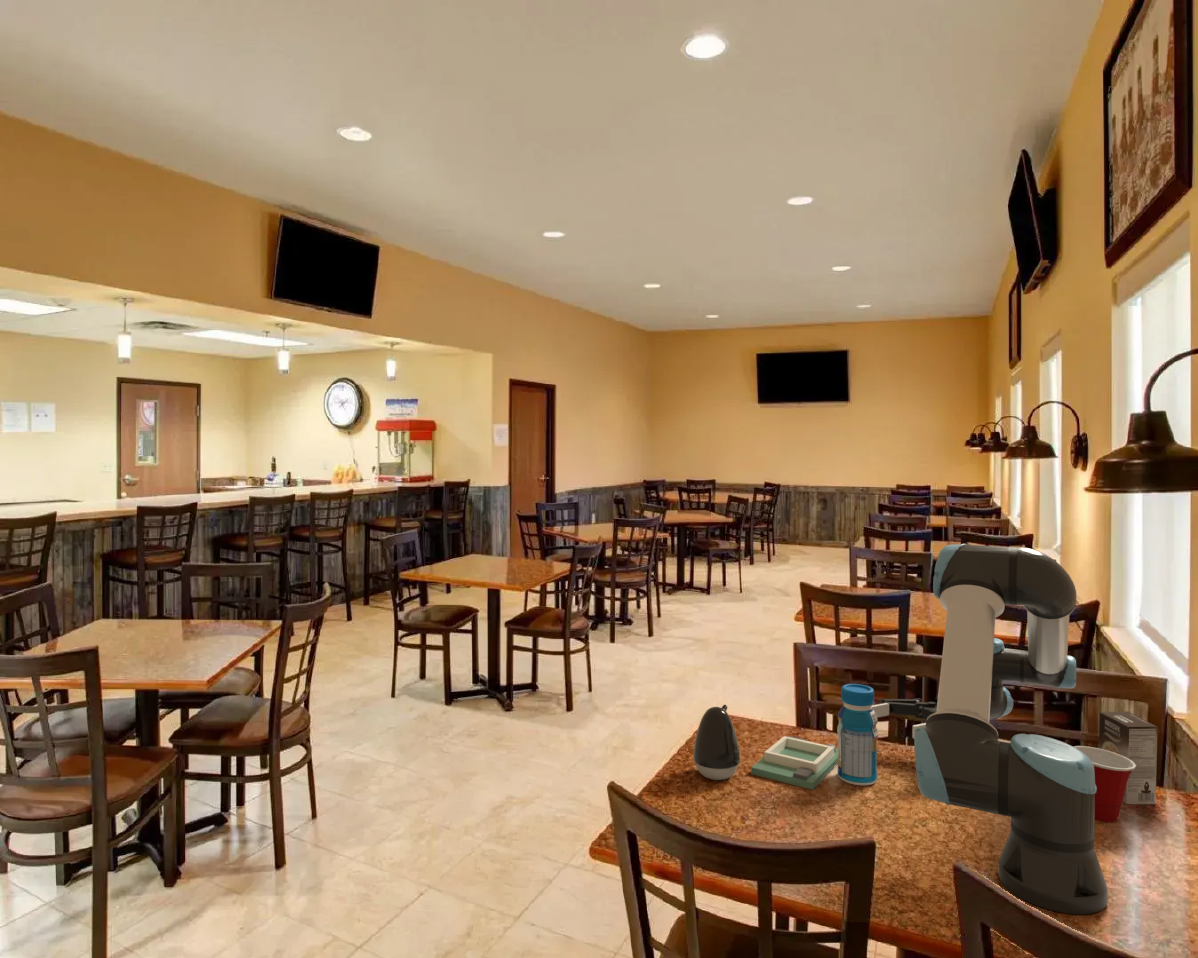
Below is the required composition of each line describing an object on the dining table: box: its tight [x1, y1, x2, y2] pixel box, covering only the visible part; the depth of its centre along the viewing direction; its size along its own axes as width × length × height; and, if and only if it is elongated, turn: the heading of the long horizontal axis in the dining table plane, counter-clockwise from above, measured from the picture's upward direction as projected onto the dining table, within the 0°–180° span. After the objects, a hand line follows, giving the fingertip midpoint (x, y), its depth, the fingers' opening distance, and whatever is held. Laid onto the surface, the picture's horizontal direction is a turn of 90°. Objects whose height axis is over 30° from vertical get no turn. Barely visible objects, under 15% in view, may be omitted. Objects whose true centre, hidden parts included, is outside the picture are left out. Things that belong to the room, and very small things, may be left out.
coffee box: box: [1098, 711, 1158, 805], centre depth 154 cm, size 9×6×16 cm
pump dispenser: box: [692, 704, 741, 781], centre depth 164 cm, size 10×10×15 cm
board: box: [750, 735, 838, 791], centre depth 170 cm, size 22×14×4 cm, turn 145°
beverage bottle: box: [836, 683, 879, 786], centre depth 162 cm, size 8×8×20 cm
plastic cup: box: [1073, 745, 1136, 823], centre depth 145 cm, size 11×11×12 cm
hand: (889, 722), depth 166 cm, fingers open, 13 cm apart
